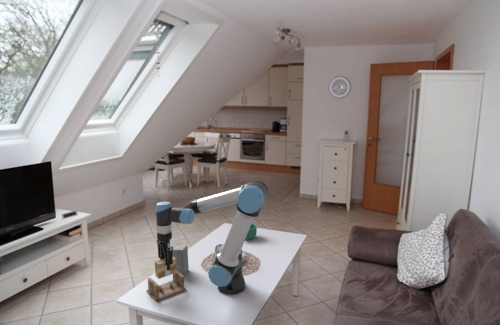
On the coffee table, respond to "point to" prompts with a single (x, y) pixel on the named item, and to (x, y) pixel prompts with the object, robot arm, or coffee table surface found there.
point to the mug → (252, 232)
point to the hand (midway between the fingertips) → (165, 273)
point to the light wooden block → (161, 268)
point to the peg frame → (166, 287)
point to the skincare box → (181, 258)
